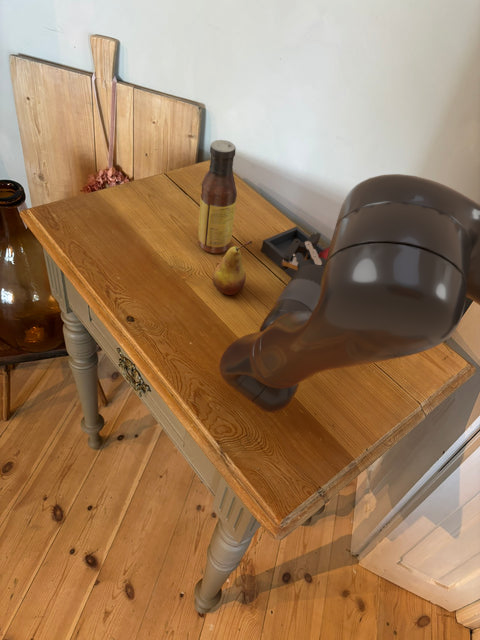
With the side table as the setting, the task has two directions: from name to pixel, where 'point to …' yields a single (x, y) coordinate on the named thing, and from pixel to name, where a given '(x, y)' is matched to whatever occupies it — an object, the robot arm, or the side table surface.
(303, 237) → the tray
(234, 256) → the fruit
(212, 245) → the sauce bottle
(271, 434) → the side table surface
